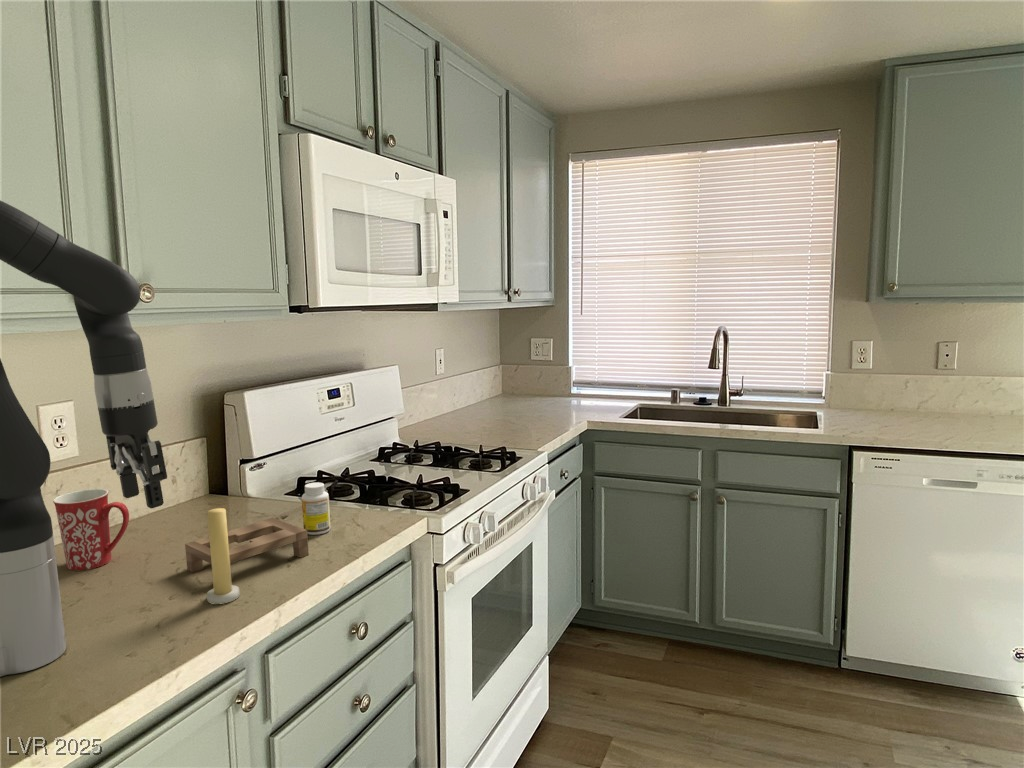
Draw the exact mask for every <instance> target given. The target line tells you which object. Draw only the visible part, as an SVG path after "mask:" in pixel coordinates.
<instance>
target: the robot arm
mask: <svg viewBox="0 0 1024 768" xmlns="http://www.w3.org/2000/svg"><path fill="white" fill-rule="evenodd" d="M0 261H1V262H3V263H6V264H7V265H9V266H11V267H12V268H14V269H17V270H18V271H19V272H22V273H24V274H25V275H27V276H29V277H31V278H33V279H35V280H37V281H39V282H42V283H45V284H49V285H52V286H55V287H58V288H60V289H61V290H63V291H65V292H67V293H68V294H70V295H72V296H73V303H74V307H75V310H76V312H77V313H76V314H77V316H78V319H79V322H80V324H81V328H82V331H83V333H84V335H85V338H86V341H87V343H88V346H89V356H90V362H91V367H92V373H93V379H94V380H93V383H94V384H93V386H94V395H95V400H96V405H97V412H98V417H99V422H100V426H101V427H100V428H101V432H102V434H103V435H104V436H105V438H106V444H107V449H108V450H107V451H108V457H109V463H110V468H111V470H113V471H114V470H115V473H116V475H117V476H119V480H120V487H121V492H122V497H123V498H125V499H130V498H133V497H137V496H139V494H140V491H139V490H140V489H139V484H138V483H139V482H138V478H137V475H139V478H140V480H141V482H142V484H143V486H142V487H143V491H144V492H143V493H144V497H145V503H146V507H147V508H149V509H155V508H157V507H161V506H163V505H164V497H163V491H162V485H161V482H163V480H167V479H168V473H167V467H166V463H165V458H164V453H163V447H162V443H161V441H160V440H154V441H152V440H151V439H150V435H149V432H150V430H153V429H155V428H156V427H157V426H158V417H157V411H156V406H155V400H154V392H153V387H152V386H153V385H152V382H151V377H150V376H149V372H148V369H147V365H146V359H145V358H146V357H145V351H144V347H143V342H142V339H141V336H140V335H139V334H138V333H137V332H136V331H135V330H134V329H133V327H132V325H131V319H130V316H129V313H130V312H131V311H132V310H134V309H135V308H136V307H137V305H138V303H139V302H140V299H141V288H140V286H139V283H138V281H137V280H136V278H135V277H134V276H133V275H132V274H131V273H130V272H128V271H127V270H126V269H125V268H123V267H121V265H119V264H116V263H115V262H113V261H111V260H109V259H107V258H105V257H102V256H100V255H99V254H97V253H95V252H92V251H91V250H89V249H86V248H84V247H81V246H79V245H78V244H76V243H74V242H72V241H70V240H69V239H67V238H66V237H65V236H63V235H62V234H60V233H58V232H57V231H55V230H54V229H52V228H51V227H49V226H47V225H46V224H44V223H42V222H41V221H40V220H38V219H36V218H34V217H33V216H31V215H29V214H27V213H26V212H24V211H23V210H20V209H18V208H16V207H14V206H12V205H11V204H9V203H6V202H5V201H2V200H0ZM50 470H51V455H50V451H49V449H48V446H47V445H46V443H45V442H44V440H43V438H42V437H41V435H40V434H39V433H38V431H37V429H36V427H35V426H34V425H33V423H32V421H31V419H30V418H29V417H28V415H27V413H26V412H25V410H24V408H23V406H22V405H21V403H20V402H19V400H18V398H17V396H16V394H15V392H14V390H13V388H12V385H11V383H10V381H9V379H8V376H7V373H6V370H5V367H4V364H3V362H2V359H1V358H0V677H4V676H7V675H8V676H9V675H15V674H20V673H26V672H29V671H32V670H36V669H38V668H42V667H43V666H46V665H47V664H50V663H52V662H53V661H55V660H57V659H58V658H60V657H61V656H62V655H63V654H64V653H65V651H66V650H67V644H66V633H65V626H64V618H63V608H62V599H61V592H60V591H61V590H60V582H59V575H58V574H59V573H58V566H57V564H58V563H57V559H56V558H57V556H56V549H55V548H56V547H55V541H54V540H55V538H54V530H53V529H54V528H53V522H52V518H51V515H50V513H49V511H48V509H47V506H46V504H45V502H44V498H43V494H42V488H41V487H42V486H43V485H44V484H45V482H46V481H47V479H48V476H49V473H50Z"/></svg>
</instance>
